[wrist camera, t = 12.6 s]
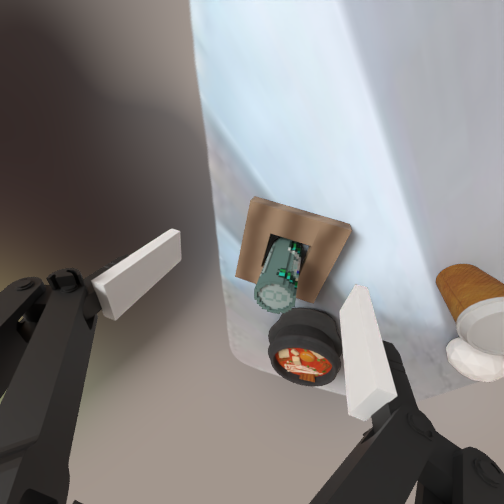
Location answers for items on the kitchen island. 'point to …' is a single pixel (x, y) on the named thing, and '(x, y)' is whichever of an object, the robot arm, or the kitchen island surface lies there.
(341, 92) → the kitchen island surface
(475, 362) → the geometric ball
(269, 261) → the can
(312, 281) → the frame
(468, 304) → the disposable coffee cup
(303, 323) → the casserole
